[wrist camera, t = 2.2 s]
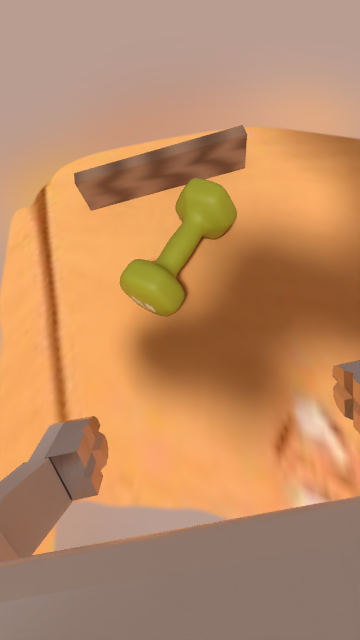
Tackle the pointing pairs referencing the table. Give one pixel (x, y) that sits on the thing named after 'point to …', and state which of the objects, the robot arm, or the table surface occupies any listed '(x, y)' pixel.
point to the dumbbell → (179, 247)
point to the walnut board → (163, 168)
